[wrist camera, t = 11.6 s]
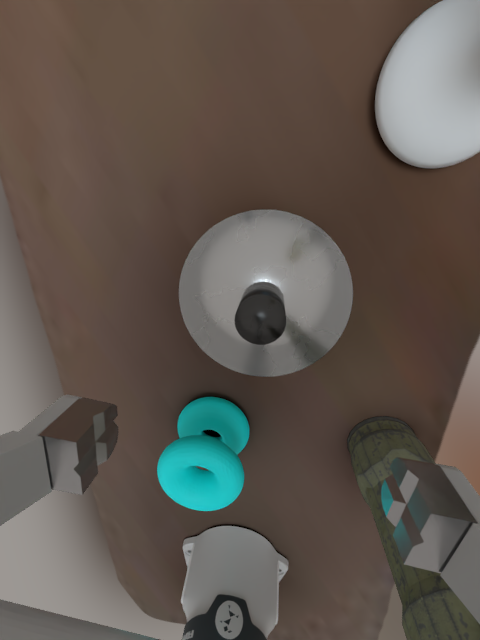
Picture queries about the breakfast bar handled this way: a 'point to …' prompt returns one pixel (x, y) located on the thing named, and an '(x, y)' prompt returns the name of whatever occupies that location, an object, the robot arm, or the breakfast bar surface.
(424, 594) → the olive green textured cylinder
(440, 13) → the flower in vase
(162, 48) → the breakfast bar surface
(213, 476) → the donuts
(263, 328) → the steel lid
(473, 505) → the robot arm
